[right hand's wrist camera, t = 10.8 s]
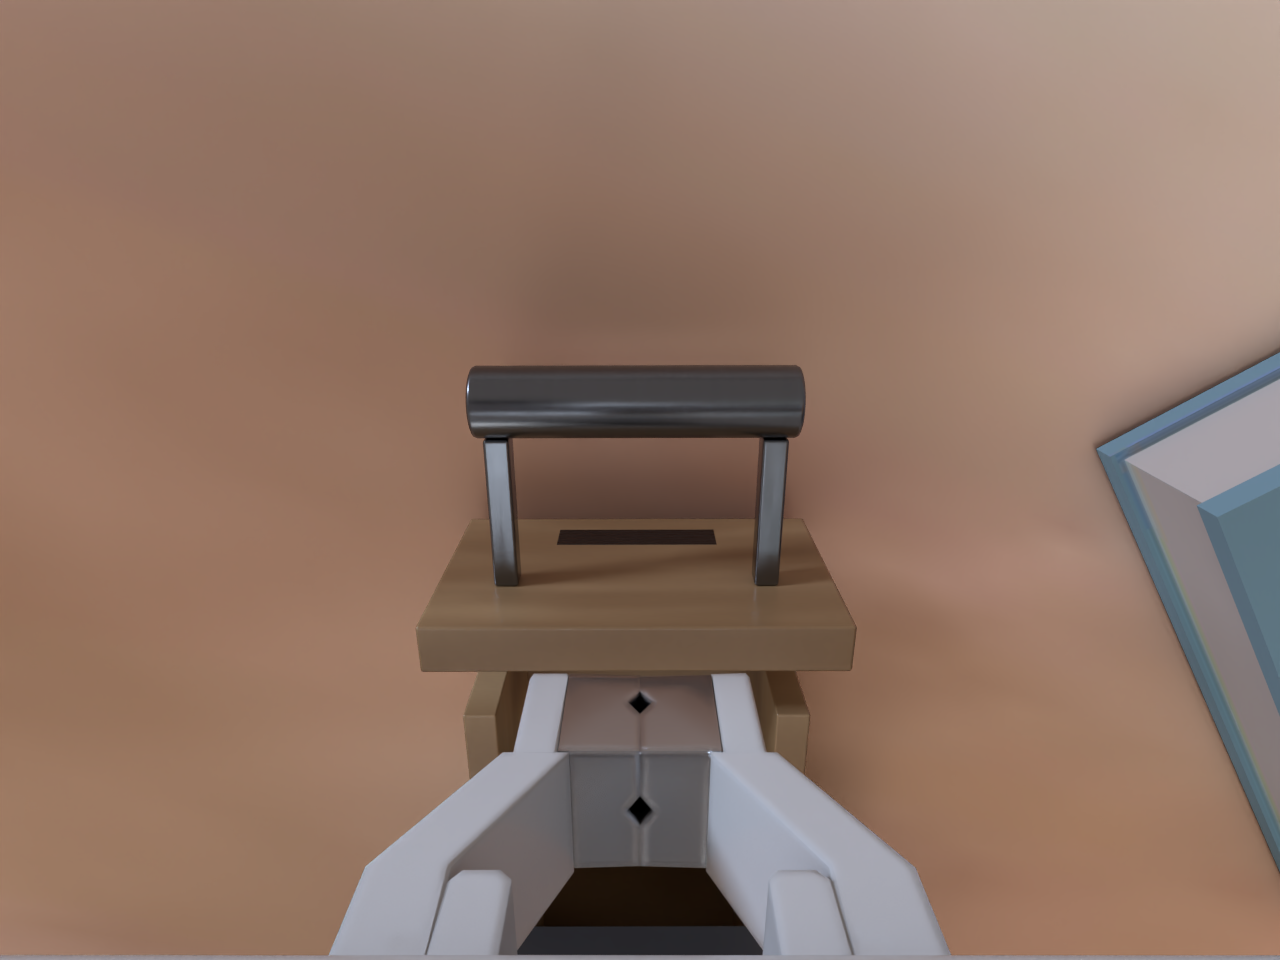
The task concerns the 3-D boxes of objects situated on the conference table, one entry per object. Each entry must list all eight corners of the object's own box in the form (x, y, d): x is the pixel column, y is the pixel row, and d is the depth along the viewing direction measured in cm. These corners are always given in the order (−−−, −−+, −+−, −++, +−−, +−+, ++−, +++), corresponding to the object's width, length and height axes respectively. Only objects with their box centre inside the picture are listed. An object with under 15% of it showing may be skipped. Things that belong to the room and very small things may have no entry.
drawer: (454, 335, 20) (383, 390, 15) (818, 335, 20) (885, 389, 15) (510, 963, 29) (480, 1147, 23) (765, 963, 29) (795, 1147, 23)
